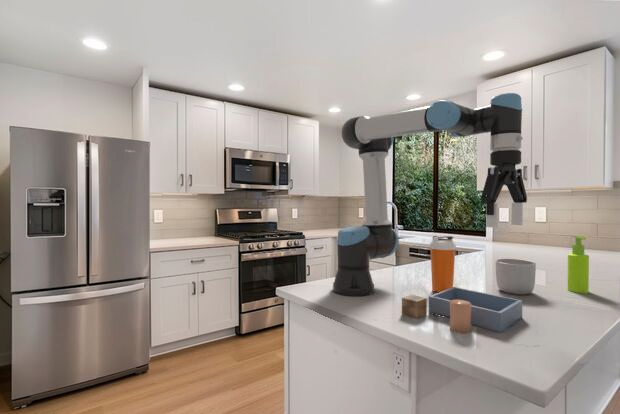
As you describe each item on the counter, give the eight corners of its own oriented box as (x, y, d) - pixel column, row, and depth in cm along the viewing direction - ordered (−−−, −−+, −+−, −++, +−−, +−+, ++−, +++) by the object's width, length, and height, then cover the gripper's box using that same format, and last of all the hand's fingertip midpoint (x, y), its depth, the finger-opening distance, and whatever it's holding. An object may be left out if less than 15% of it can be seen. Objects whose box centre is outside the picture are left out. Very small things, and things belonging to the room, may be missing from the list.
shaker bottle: (458, 294, 117) (458, 237, 116) (431, 293, 118) (431, 237, 118) (452, 288, 125) (452, 235, 125) (427, 287, 127) (427, 234, 127)
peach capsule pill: (446, 329, 86) (446, 302, 86) (455, 324, 89) (455, 298, 89) (465, 335, 82) (465, 306, 82) (474, 329, 85) (474, 302, 85)
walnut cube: (401, 314, 97) (401, 297, 97) (411, 310, 100) (411, 294, 100) (417, 319, 93) (417, 301, 93) (426, 315, 97) (426, 298, 97)
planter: (512, 286, 128) (512, 257, 127) (544, 294, 116) (544, 263, 116) (487, 289, 124) (487, 259, 124) (517, 298, 112) (517, 266, 112)
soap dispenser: (571, 293, 117) (572, 236, 117) (565, 288, 124) (565, 234, 123) (592, 294, 115) (593, 237, 115) (584, 289, 122) (585, 235, 121)
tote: (428, 313, 98) (428, 296, 98) (453, 302, 108) (453, 286, 108) (500, 332, 83) (501, 313, 83) (522, 318, 93) (522, 300, 93)
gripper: (495, 145, 84) (494, 229, 84) (541, 152, 97) (540, 224, 98) (467, 149, 90) (466, 227, 90) (513, 155, 103) (513, 223, 104)
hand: (504, 226), depth 94 cm, fingers open, 13 cm apart
